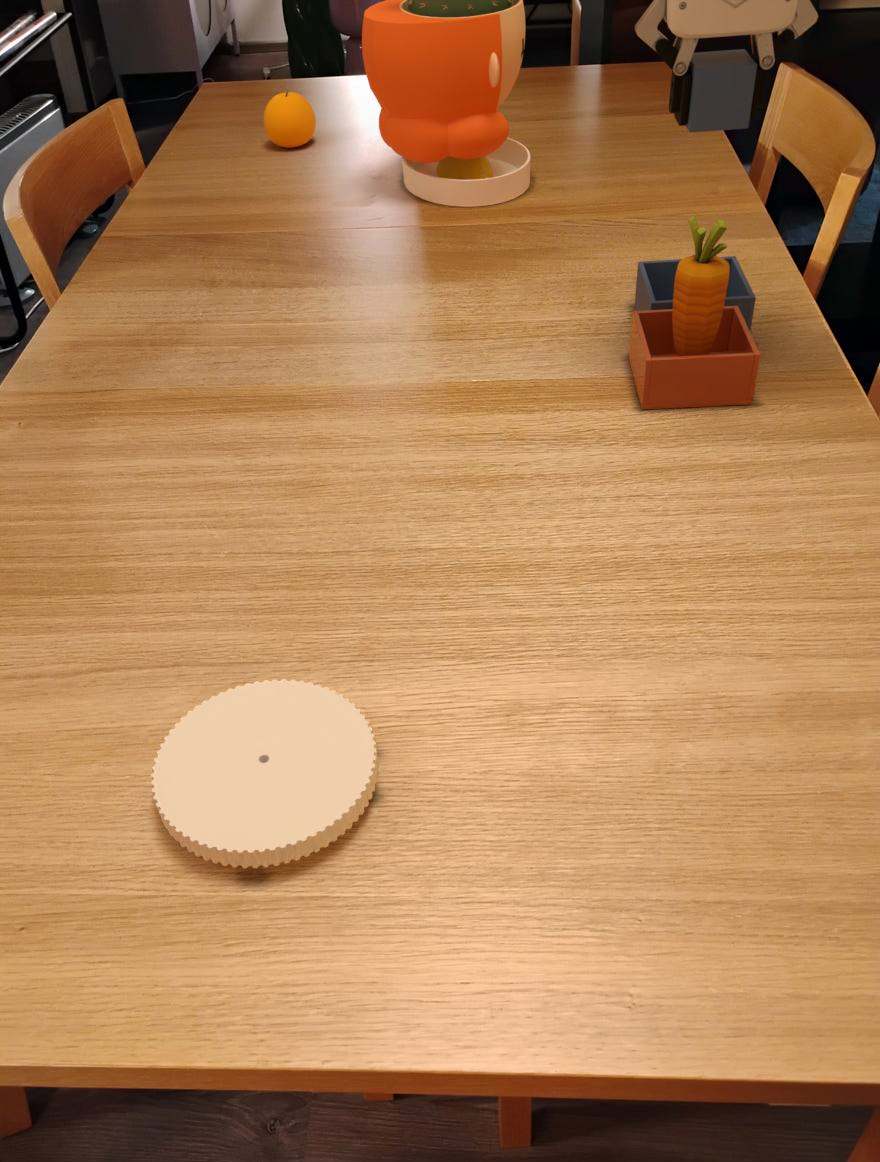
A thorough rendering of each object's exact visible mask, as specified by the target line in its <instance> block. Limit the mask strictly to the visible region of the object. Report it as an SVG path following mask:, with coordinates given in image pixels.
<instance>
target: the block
mask: <svg viewBox="0 0 880 1162" xmlns="http://www.w3.org/2000/svg"><path fill="white" fill-rule="evenodd" d="M751 56H752V55H750V54H749V52H748V51H747V50H746V49H745V48H741V49H729V50H728V49H726V50H714V51H711V50H710V51H699V52H694V53H693V56H692V59H691V61H690V64H689V65H690V74H691V75H692V88H691V98H690V107H689V117H688V123H687V124H686V125H685V127H686V129H687V130H688V132H689V133H699V132H701V133H703V132H715V131H731V130H745V129H748V128H749V125H750V121H749V119H750V112H751V105H752V98H753V91H754V84H755V77H756V70H757V64H756V62H755V61H754V60H753V59H752V58H751Z"/></svg>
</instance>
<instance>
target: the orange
mask: <svg viewBox="0 0 880 1162" xmlns="http://www.w3.org/2000/svg"><path fill="white" fill-rule="evenodd" d="M316 121H317V120H316V115H315V111H314V109H313V107H312V105H311V104H310V102H309V101H308V100H307V99H306V97H304V96H303V95H301V94H299V93H297V92H295V91H294V92H293V91H291V92H289V91H286V92H281V93H278V94H276V95H274V96H273V97H272V98H271V99H270V100H269V101H268V102H267V105H266V107H265V109H264V113H263V125H264V126H263V127H264V129H265V132H266V135H267V137H268V138H269V140H270V141H271V142H272V143H273V144H274V145H276V146H278V147H281V148H287V149H288V148H290V149H292V148H297V147H301V146H303V145H305V144H307V143H308V142H310V140H311V139H312V137H313V136H314V133H315V129H316V126H317V125H316V124H317V123H316Z"/></svg>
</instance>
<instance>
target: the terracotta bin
mask: <svg viewBox="0 0 880 1162" xmlns="http://www.w3.org/2000/svg"><path fill="white" fill-rule="evenodd" d="M672 312H673V309H664V310H645V311H636V310H633V311H632V313H631V324H630V335H629V336H630V337H629V351H628V361H629V365H630V369H631V372H632V373H631V374H632V376H633V380H634V384H635V388H636V392H637V395H638V400H639V404H640V408H641V410H659V409H660V410H661V409H682V408H702V407H703V408H704V407H705V408H706V407H723V406H724V407H725V406H747V405H753V400H754V393H755V388H756V382H757V376H758V370H759V365H760V360H761V353H760V351H759V349H758V346H757V344H756V343H755V340H754V338H753V335H752V333H751V330H750V331H749V329H748V327H747V324H746V322H745V320H744V318H743V316H742V313H741V311H740V309H739V307H738V306H724V308H723V313H722V318H721V322H720V325H719V328H718V331H717V334H716V337H715V340H714V343H713V345H712V348H711V351H710V352H709V354H708V355H695V356H677V354H676V350H675V346H674V337H673V323H672Z"/></svg>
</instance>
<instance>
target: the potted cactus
mask: <svg viewBox="0 0 880 1162" xmlns="http://www.w3.org/2000/svg"><path fill="white" fill-rule="evenodd" d="M526 26H527V25H526V11H525V6H524V0H382V1H379V2H377V3H375V4H373V5H370V6H369V7H368V8H367V9H365V10H364V13H363V18H362V27H361V28H362V30H361V49H362V50H361V51H362V52H361V53H362V60H363V66H364V72H365V75H366V78H367V82H368V85H369V89H370V90H371V92H372V94H373V96H374V97H375V99H376V101H377V103H378V104H379V107H380V112H379V116H378V128H379V129H378V131H379V134H380V136H381V139H382V141H383V143H385V144H386V146H388V147H389V148H391V149H392V151H393V152H394V153H396V154H397V155H399V156H400V157H401V161H402V173H403V174H402V175H403V184H404V186H405V188H406V190H407V191H408V192H410V193H411V194H413V195H414V196H415V197H417V198H419V199H421V200H424V201H427V202H430V203H434V204H438V205H444V206H448V207H449V206H451V207H463V208H471V207H473V208H474V207H475V208H476V207H485V206H486V207H487V206H493V205H497V204H502V203H506V202H509V201H511V200H514V199H516V198H518V197H520V196H521V195H523V194H524V193H525V192H526V191H527V190H528V189H529V187H530V185H531V152H530V150H529V149H528V148H527V147H526V146H525V145H524V144H523V143H521V142H520V141H517V140H516V139H513V138H511V137H508V136H509V134H510V126H509V122H508V120H507V118H506V117H505V115H503V113H501V112H500V111H498V109H499V108H500V107H501V105H502V104H503V103H504V102H505V101H506V99H507V98H508V96H509V94H510V93H511V92H512V91H513V88H514V86H515V84H516V81H517V79H518V76H519V74H520V70H521V67H522V63H523V59H524V57H525V44H526V28H527V27H526Z"/></svg>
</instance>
